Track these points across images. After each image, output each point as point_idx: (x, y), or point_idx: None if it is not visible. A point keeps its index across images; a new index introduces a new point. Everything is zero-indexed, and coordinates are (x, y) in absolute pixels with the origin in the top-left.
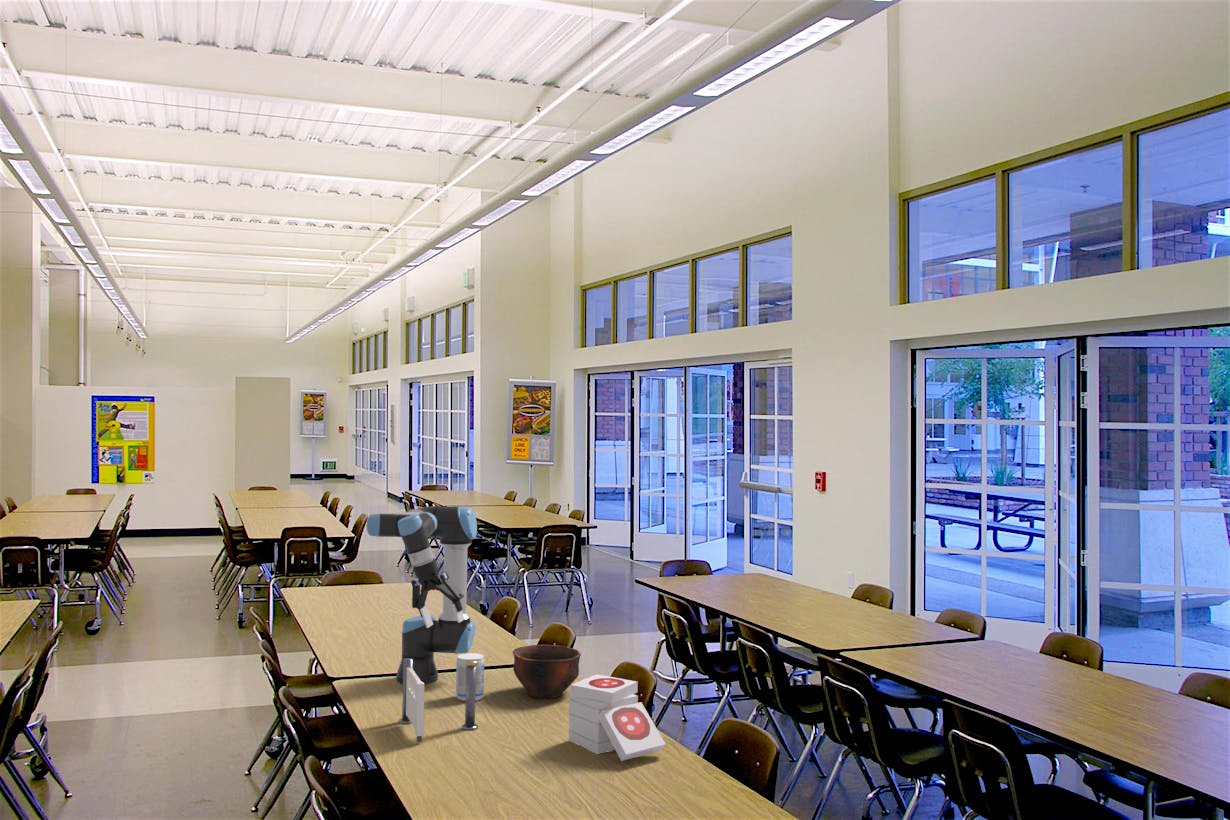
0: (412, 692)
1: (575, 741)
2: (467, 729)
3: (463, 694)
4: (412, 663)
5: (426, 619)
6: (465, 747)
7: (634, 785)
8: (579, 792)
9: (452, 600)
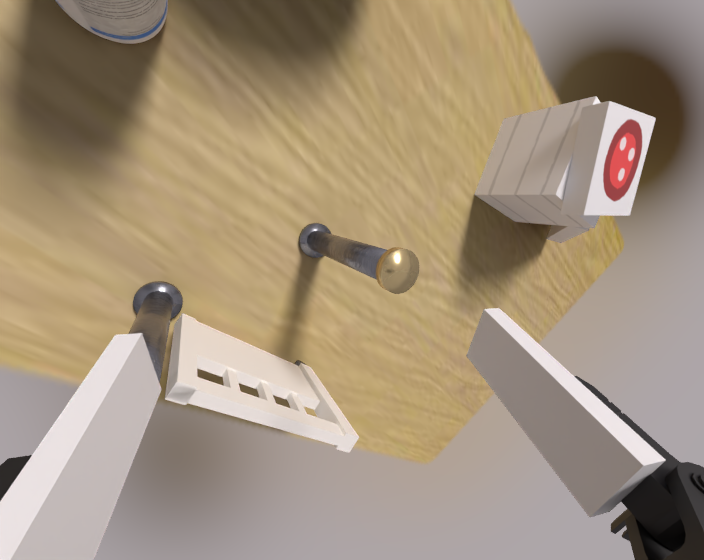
0: (242, 379)
1: (488, 202)
2: (322, 255)
3: (124, 35)
4: (156, 373)
5: (125, 452)
6: (370, 319)
7: (555, 276)
8: (523, 325)
9: (651, 553)
